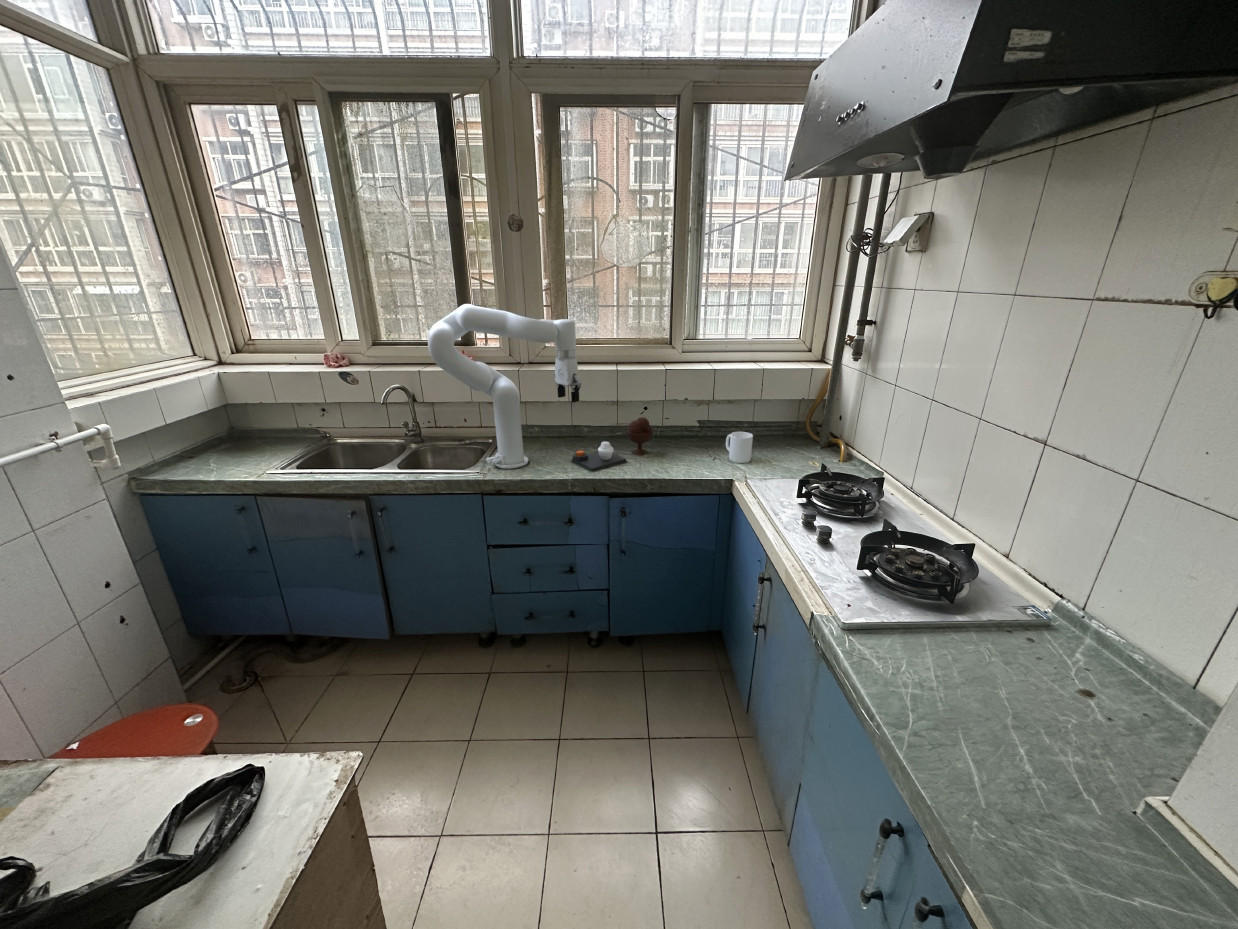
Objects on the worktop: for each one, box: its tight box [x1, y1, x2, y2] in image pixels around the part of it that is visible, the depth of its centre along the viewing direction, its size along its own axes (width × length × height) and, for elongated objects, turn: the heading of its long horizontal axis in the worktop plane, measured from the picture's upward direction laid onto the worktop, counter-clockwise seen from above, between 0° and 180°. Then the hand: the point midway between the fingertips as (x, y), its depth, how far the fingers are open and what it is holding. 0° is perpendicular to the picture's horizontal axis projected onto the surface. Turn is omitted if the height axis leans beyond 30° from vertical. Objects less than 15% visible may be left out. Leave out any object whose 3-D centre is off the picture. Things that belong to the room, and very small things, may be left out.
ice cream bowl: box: [626, 416, 654, 456], centre depth 199 cm, size 11×11×15 cm
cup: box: [725, 431, 754, 464], centre depth 193 cm, size 8×12×10 cm
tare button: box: [576, 450, 584, 456], centre depth 192 cm, size 3×3×2 cm
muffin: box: [597, 441, 615, 460], centre depth 191 cm, size 6×6×7 cm
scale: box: [571, 450, 627, 472], centre depth 192 cm, size 16×14×3 cm
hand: (568, 399), depth 190 cm, fingers open, 9 cm apart
